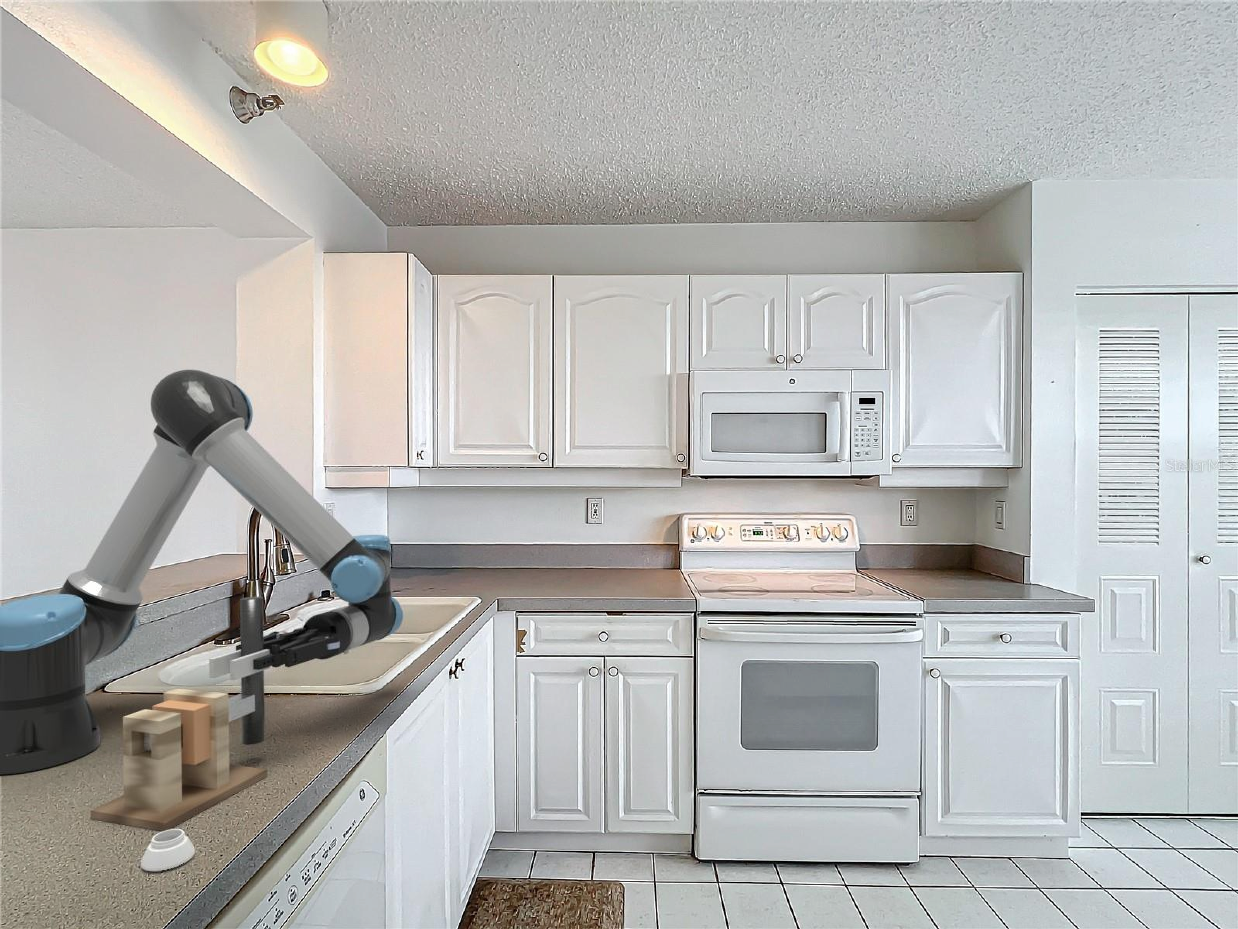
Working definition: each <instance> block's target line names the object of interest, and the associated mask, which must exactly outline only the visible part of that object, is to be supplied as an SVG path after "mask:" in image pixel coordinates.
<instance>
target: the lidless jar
mask: <svg viewBox="0 0 1238 929" xmlns="http://www.w3.org/2000/svg"><path fill="white" fill-rule="evenodd" d="M185 834H186V833H185V831H184V830H183V829H181V828H171V829H169V830H166V831H160V832H158V833H157V834H155V835H153V836H152V837H151V841H150V844H149V845H148V846H147V848H146V849H145V852H144V854H143V856H142V858H141V859H140V867H141V869H142V870H144V871H147V872H148V871H149V872H163V871H162V870H165V871H168V870H167V869H169V870H171V868H172V869H174V867H175V868H177V867H179V865H180V866H182V865H184V864H186V862H188V861H189V860H191V859H192V858H193V857H194V855H195V854H196V848H195V847H194V844H193V843H192V841H191V839H190V838H189V837H188V835H185ZM183 863H184V864H183ZM181 864H182V865H181Z"/></svg>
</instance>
